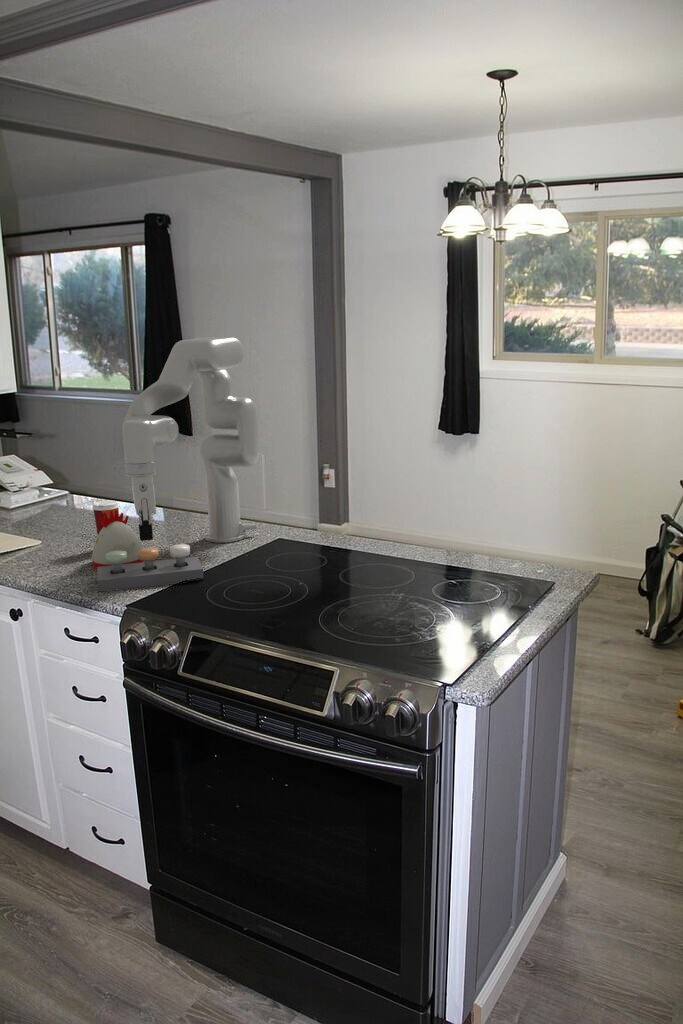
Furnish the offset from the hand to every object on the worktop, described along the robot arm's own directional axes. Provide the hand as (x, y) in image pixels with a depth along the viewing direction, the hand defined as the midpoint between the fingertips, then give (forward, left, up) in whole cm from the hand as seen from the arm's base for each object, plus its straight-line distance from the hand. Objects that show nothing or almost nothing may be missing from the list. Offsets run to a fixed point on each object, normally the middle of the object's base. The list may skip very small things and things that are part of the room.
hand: (146, 539), depth 217 cm
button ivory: (-8, 0, -8) cm, 11 cm away
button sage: (+8, 0, -8) cm, 11 cm away
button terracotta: (0, 0, -8) cm, 8 cm away
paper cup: (+9, -34, -11) cm, 37 cm away
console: (0, 0, -11) cm, 11 cm away
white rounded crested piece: (+7, -19, -11) cm, 23 cm away
